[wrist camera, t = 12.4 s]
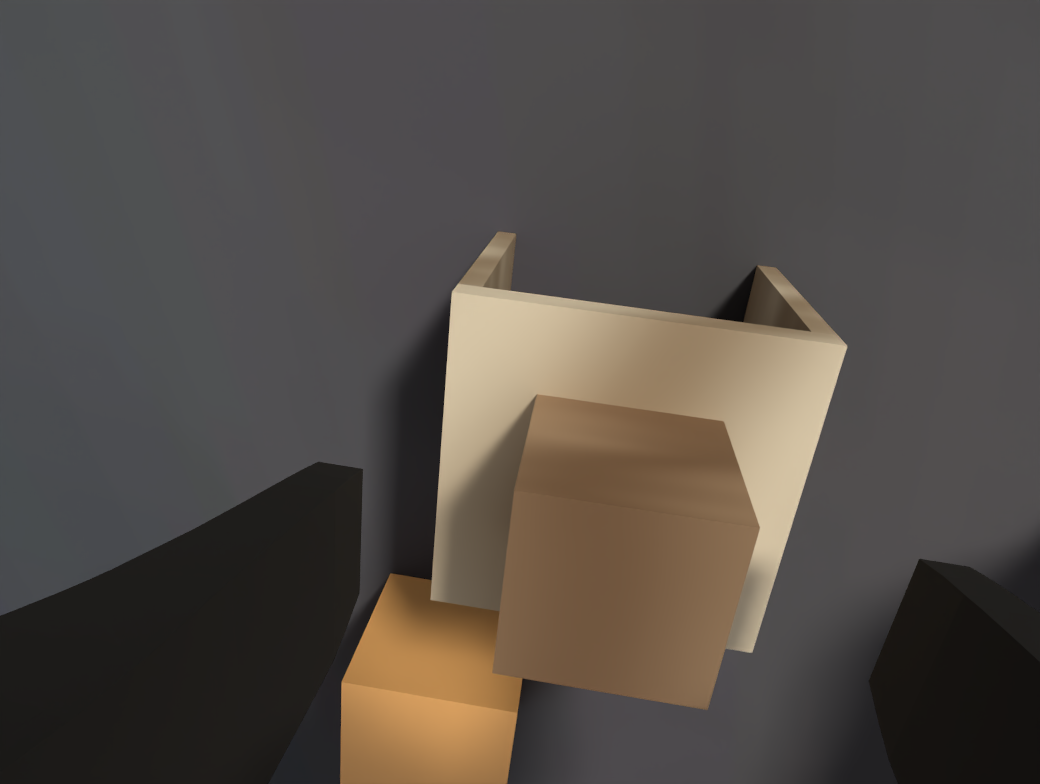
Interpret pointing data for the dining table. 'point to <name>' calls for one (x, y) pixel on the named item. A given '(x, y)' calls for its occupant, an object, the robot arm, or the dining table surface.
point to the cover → (623, 476)
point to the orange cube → (426, 694)
